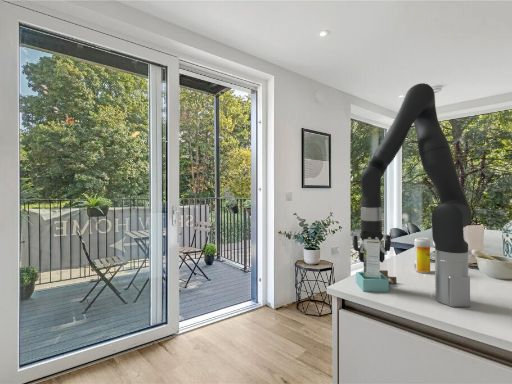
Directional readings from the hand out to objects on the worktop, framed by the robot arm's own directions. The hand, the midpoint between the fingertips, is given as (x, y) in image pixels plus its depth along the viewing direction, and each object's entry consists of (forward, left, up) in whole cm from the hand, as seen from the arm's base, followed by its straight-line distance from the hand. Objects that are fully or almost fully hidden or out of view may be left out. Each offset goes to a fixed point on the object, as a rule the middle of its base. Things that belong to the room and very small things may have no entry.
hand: (371, 261), depth 111 cm
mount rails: (+7, -8, -10) cm, 14 cm away
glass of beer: (+19, -29, -10) cm, 36 cm away
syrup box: (0, 0, -6) cm, 6 cm away
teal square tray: (0, 0, -10) cm, 10 cm away
